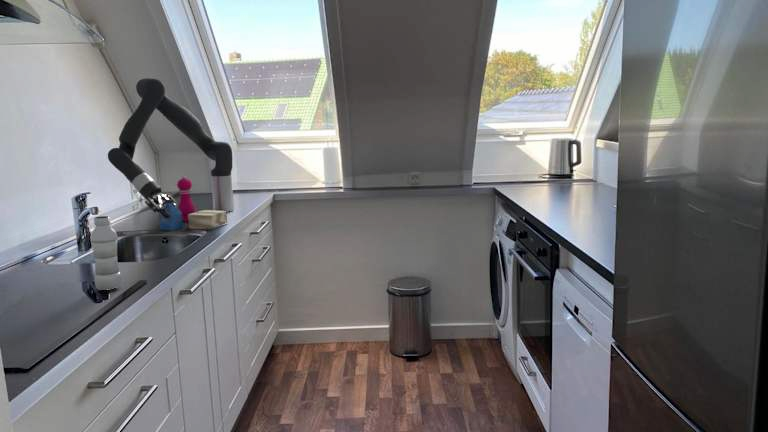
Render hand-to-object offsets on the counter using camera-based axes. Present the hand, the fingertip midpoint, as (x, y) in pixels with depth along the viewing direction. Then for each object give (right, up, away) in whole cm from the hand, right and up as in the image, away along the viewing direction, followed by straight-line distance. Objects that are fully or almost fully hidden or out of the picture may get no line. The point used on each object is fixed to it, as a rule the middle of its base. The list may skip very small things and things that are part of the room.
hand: (173, 215), depth 228 cm
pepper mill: (-1, -2, +19) cm, 19 cm away
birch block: (+12, -5, +6) cm, 14 cm away
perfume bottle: (-1, -6, +1) cm, 6 cm away
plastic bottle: (+12, -20, -77) cm, 81 cm away
